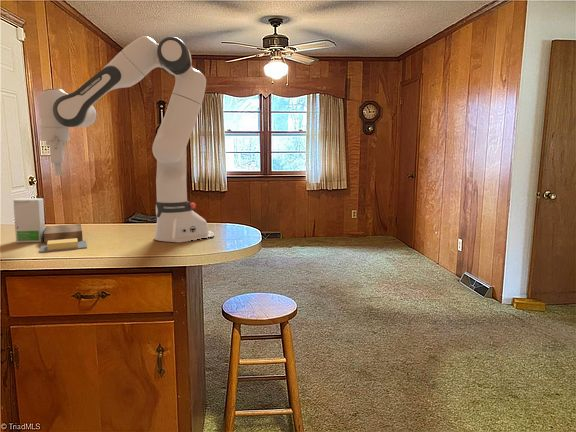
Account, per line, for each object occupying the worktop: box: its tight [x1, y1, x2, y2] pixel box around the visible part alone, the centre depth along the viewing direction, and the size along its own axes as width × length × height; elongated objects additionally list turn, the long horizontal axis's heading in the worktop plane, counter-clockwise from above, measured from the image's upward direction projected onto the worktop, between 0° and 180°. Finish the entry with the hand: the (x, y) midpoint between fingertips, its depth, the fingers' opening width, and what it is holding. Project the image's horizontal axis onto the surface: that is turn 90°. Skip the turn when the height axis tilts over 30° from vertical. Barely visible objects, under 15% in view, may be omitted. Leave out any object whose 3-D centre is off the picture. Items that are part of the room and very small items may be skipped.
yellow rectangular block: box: [47, 238, 78, 250], centre depth 140 cm, size 9×6×2 cm, turn 118°
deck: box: [43, 223, 84, 244], centre depth 154 cm, size 12×16×4 cm
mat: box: [39, 240, 88, 254], centre depth 142 cm, size 14×11×1 cm
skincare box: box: [13, 197, 46, 244], centre depth 150 cm, size 8×7×16 cm
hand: (58, 175), depth 148 cm, fingers closed
